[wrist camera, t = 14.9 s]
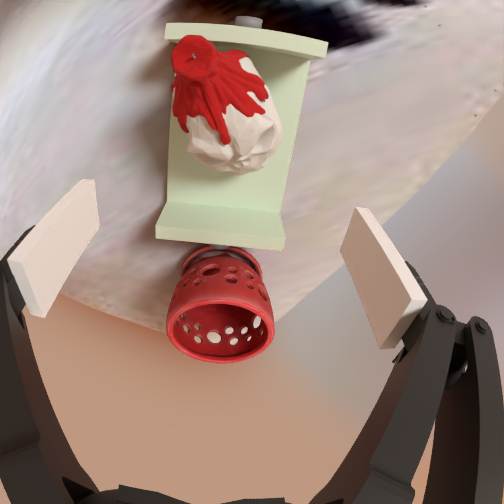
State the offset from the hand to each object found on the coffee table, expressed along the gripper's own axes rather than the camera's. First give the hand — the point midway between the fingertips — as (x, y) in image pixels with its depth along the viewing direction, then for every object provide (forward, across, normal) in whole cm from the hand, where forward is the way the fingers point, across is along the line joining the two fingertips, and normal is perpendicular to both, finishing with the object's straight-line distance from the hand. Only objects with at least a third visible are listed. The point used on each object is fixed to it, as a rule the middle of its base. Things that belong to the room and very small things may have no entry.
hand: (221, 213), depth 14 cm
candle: (+21, +1, -1) cm, 21 cm away
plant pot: (+21, +1, -22) cm, 30 cm away
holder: (+21, 0, 0) cm, 21 cm away
